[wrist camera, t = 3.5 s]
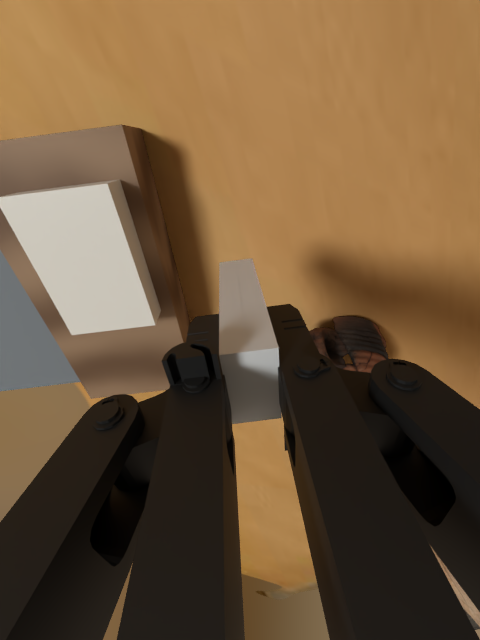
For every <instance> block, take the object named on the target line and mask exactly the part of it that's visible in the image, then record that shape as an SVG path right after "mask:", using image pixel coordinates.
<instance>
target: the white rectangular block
mask: <svg viewBox="0 0 480 640" xmlns="http://www.w3.org/2000/svg"><path fill="white" fill-rule="evenodd" d="M0 208H1V210H2V212H3V213H4V215H5V217H6V219H7V221H8V222H9V224H10V226H11V228H12V229H13V231H14V233H15V235H16V237H17V238H18V240H19V242H20V244H21V246H22V247H23V249H24V251H25V253H26V254H27V256H28V258H29V260H30V262H31V263H32V265H33V267H34V269H35V271H36V272H37V274H38V276H39V278H40V279H41V281H42V283H43V285H44V287H45V288H46V290H47V292H48V294H49V295H50V297H51V299H52V301H53V303H54V304H55V306H56V308H57V310H58V312H59V313H60V315H61V317H62V319H63V320H64V322H65V324H66V326H67V328H68V329H69V331H70V333H71V335H78V334H86V333H95V332H103V331H111V330H120V329H128V328H136V327H145V326H153V325H156V323H157V320H158V317H159V315H160V312H161V309H160V306H159V302H158V299H157V296H156V293H155V290H154V287H153V283H152V280H151V277H150V274H149V271H148V267H147V264H146V261H145V258H144V255H143V252H142V248H141V245H140V242H139V239H138V236H137V233H136V229H135V226H134V223H133V220H132V217H131V214H130V210H129V207H128V204H127V201H126V198H125V194H124V191H123V188H122V185H121V182H120V180H112V181H104V182H97V183H89V184H81V185H73V186H65V187H58V188H50V189H42V190H34V191H27V192H19V193H15V194H10V195H6V196H1V197H0Z"/></svg>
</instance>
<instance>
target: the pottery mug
mask: <svg viewBox="0 0 480 640" xmlns="http://www.w3.org/2000/svg"><path fill="white" fill-rule="evenodd" d="M333 322H334V324H335V325H334V328H335V331H334V330H332V329H330V328H326V327H325V328H315V329H313V330H311V331H309V332H310V334H311V336H312V339H313V341H314V343H315V345H316V347H317V349H318V351H319V353H320V354H322V355H324V356H326V357H327V358H329V359H330V360H331V361H332V362H333V364H334V365H335V367H338V368H341V369H345V370H350V371H359V372H368V373H371V370H372V368H373V366H374V365H375V364H376V363H378V362H380V361H382V360H388V354H387V352H386V350H385V348H386V341H385V339H384V338H383V336H382V335H381V333H380V331H379V328H378V326H377V325H376V324H374V323H373V322H371V321H369V320H366V319H364V318H359V317H353V316H346V317H345V316H343V317H335V318H333ZM346 354H349V356H350V357H351V360H352V362H353V364H346V365H345V361H344V359H343V358H342V357H344V356H345V355H346Z"/></svg>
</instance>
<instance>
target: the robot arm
mask: <svg viewBox="0 0 480 640" xmlns="http://www.w3.org/2000/svg"><path fill="white" fill-rule="evenodd" d="M161 362H162V364H163V367H164V370H165V373H166V376H167V379H168V381H169V384H170V388H169V389H168V390H166V391H165V392H163V393H161V394H159V395H157V396H154V397H152V398H149V399H147V400H144V401H141V402H139V403H138V402H137V401H136V400H135V399H134V398H133V397H132V396H130V395H126V394H119V395H112V396H110V397H107V398H104V399H102V400H101V401H99V402H98V403H96V404H94V405H93V406H92V407H91V408H90V409H89V410H88V411H87V412H86V413H85V414H84V415H83V416H82V418H81V419H80V420H79V422H78V423H77V424H76V425H75V427H74V428H73V429H72V431H71V432H70V433H69V434H68V436H67V437H66V438H65V440H64V441H63V442H62V443H61V445H60V446H59V448H58V449H57V450H56V451H55V453H54V454H53V455H52V456H51V458H50V459H49V460H48V462H47V463H46V464H45V466H44V467H43V468H42V469H41V471H40V472H39V473H38V474H37V476H36V477H35V478H34V480H33V481H32V482H31V484H30V485H29V486H28V487H27V489H26V490H25V491H24V493H23V494H22V495H21V496H20V498H19V499H18V500H17V502H16V503H15V504H14V506H13V507H12V508H11V509H10V511H9V512H8V513H7V514H6V516H5V517H4V518H3V520H2V521H1V522H0V640H103V637H104V635H105V632H106V630H107V627H108V625H109V622H110V619H111V617H112V614H113V612H114V609H115V606H116V604H117V601H118V599H119V596H120V594H121V591H122V589H123V586H124V583H125V581H126V578H127V576H128V573H129V571H130V568H131V565H132V563H133V565H132V570H131V574H130V579H129V584H128V588H127V593H126V599H125V603H124V608H123V613H122V618H121V623H120V627H119V631H118V636H117V640H245V636H244V616H243V598H242V578H241V559H240V540H239V520H238V501H237V482H236V463H235V443H234V437H233V432H232V424H236V423H244V422H252V421H260V420H268V419H276V418H281V412H282V417H283V421H284V438H285V450H288V453H289V458H290V462H291V467H292V471H293V476H294V480H295V485H296V489H297V494H298V498H299V503H300V507H301V512H302V516H303V521H304V525H305V530H306V534H307V539H308V543H309V548H310V552H311V557H312V561H313V566H314V570H315V575H316V579H317V584H318V588H319V592H320V597H321V602H322V606H323V611H324V615H325V619H326V624H327V629H328V633H329V638H330V640H480V639H479V637H478V636H477V633H476V632H475V630H474V628H473V626H472V624H471V622H470V620H469V618H468V616H467V615H466V613H465V611H464V609H463V607H462V605H461V603H460V601H459V599H458V598H457V596H456V594H455V592H454V590H453V588H452V586H451V584H450V582H449V581H448V579H447V577H446V575H445V573H444V571H443V569H442V567H441V565H440V563H439V562H438V560H437V558H436V556H435V554H434V552H433V550H434V551H435V553H436V554H437V555H438V557H439V558H440V559H441V561H442V562H443V563H444V565H445V566H446V567H447V569H448V570H449V571H450V573H451V574H452V576H453V577H454V578H455V580H456V581H457V582H458V584H459V585H460V586H461V588H462V589H463V590H464V592H465V593H466V594H467V596H468V597H469V598H470V600H471V601H472V602H473V604H474V605H475V606H476V608H477V609H478V611H479V612H480V409H478V408H477V407H475V406H474V405H473V404H471V403H470V402H469V401H467V400H466V399H465V398H463V397H462V396H461V395H459V394H458V393H457V392H455V391H454V390H453V389H451V388H450V387H449V386H447V385H446V384H445V383H443V382H442V381H440V380H439V379H438V378H436V377H435V376H434V375H432V374H431V373H430V372H428V371H427V370H425V369H424V368H422V367H420V366H418V365H417V364H414V363H411V362H408V361H405V360H398V359H388V360H382V361H380V362H378V363H376V364H375V365H374V366H373V368H372V370H371V373H368V372H359V371H350V370H345V369H341V368H338V367H335V365H334V364H333V362H332V361H331V360H330V359H329V358H327V357H326V356H324V355H322V354H320V353H319V351H318V349H317V347H316V345H315V343H314V341H313V339H312V336H311V334H310V332H309V330H308V328H307V327H306V324H305V322H304V320H303V318H302V316H301V314H300V312H299V310H298V309H296V308H295V307H293V306H292V305H290V304H286V305H278V306H270V307H266V304H265V300H264V297H263V293H262V290H261V287H260V283H259V280H258V277H257V273H256V270H255V266H254V263H253V260H252V259H244V260H236V261H228V262H220V273H219V314H214V315H206V316H198V317H195V318H194V320H193V321H192V322H191V323H190V324H189V327H188V333H187V338H186V342H184V343H181V344H179V345H177V346H175V347H173V348H171V349H170V350H169V351H168V352H167V353H166V354H165V355H164V357H163V359H162V361H161ZM431 547H432V548H431ZM432 549H433V550H432Z"/></svg>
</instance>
